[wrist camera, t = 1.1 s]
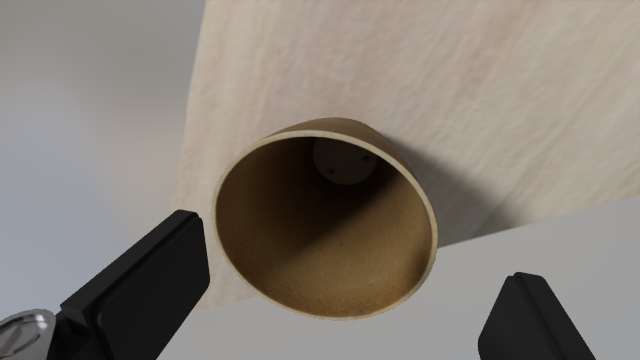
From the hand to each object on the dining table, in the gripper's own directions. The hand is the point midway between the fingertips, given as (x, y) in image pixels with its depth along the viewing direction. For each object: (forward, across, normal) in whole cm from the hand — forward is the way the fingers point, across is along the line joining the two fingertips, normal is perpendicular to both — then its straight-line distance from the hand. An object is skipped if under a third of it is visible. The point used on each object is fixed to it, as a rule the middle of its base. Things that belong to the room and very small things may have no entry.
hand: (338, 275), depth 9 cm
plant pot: (+24, +2, +6) cm, 25 cm away
